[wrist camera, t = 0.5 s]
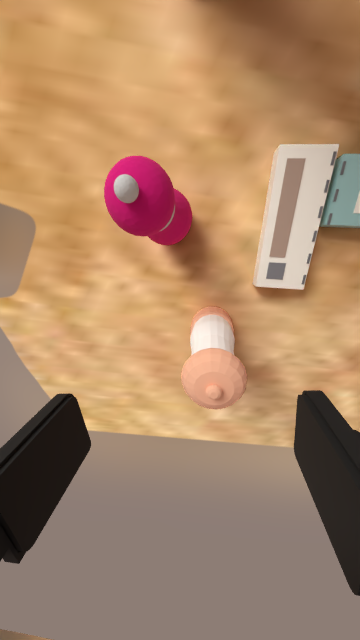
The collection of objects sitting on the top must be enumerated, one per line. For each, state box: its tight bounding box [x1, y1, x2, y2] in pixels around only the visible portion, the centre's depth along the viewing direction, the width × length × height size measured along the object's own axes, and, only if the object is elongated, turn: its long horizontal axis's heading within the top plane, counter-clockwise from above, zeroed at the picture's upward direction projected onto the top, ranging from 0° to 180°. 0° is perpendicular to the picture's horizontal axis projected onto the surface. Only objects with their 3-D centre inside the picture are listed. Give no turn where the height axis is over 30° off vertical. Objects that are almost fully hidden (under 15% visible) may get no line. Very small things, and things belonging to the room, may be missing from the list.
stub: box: [319, 154, 360, 228], centre depth 28 cm, size 8×6×3 cm
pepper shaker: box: [181, 306, 247, 409], centre depth 29 cm, size 7×7×19 cm
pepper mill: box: [104, 156, 192, 245], centre depth 23 cm, size 7×7×20 cm
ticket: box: [253, 144, 339, 290], centre depth 30 cm, size 18×7×3 cm, turn 177°
